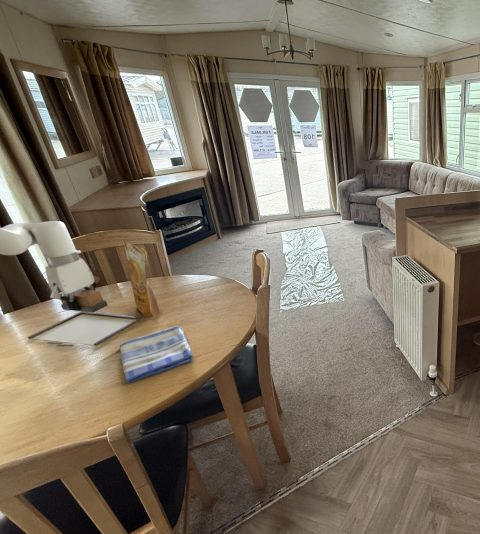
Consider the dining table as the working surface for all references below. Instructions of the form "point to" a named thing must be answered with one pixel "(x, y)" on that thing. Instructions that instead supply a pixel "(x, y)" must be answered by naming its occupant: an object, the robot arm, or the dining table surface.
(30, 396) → the dining table surface
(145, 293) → the pancake mix bag
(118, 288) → the dining table surface
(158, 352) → the dish towel
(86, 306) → the eraser
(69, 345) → the stroke
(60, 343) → the stroke
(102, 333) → the memo board
